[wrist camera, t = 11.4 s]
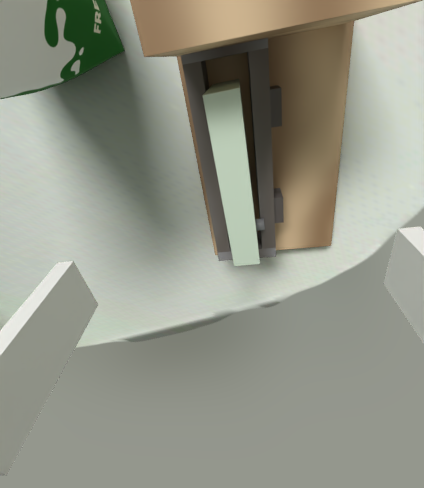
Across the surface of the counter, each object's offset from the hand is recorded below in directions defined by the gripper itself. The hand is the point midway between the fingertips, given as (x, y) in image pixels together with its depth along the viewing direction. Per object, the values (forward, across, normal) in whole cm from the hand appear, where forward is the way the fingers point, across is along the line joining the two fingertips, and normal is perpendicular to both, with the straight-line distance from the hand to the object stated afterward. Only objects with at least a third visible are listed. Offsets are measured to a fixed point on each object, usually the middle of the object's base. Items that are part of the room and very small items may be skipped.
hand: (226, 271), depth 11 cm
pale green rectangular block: (+15, +1, 0) cm, 15 cm away
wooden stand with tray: (+16, +3, 0) cm, 16 cm away
